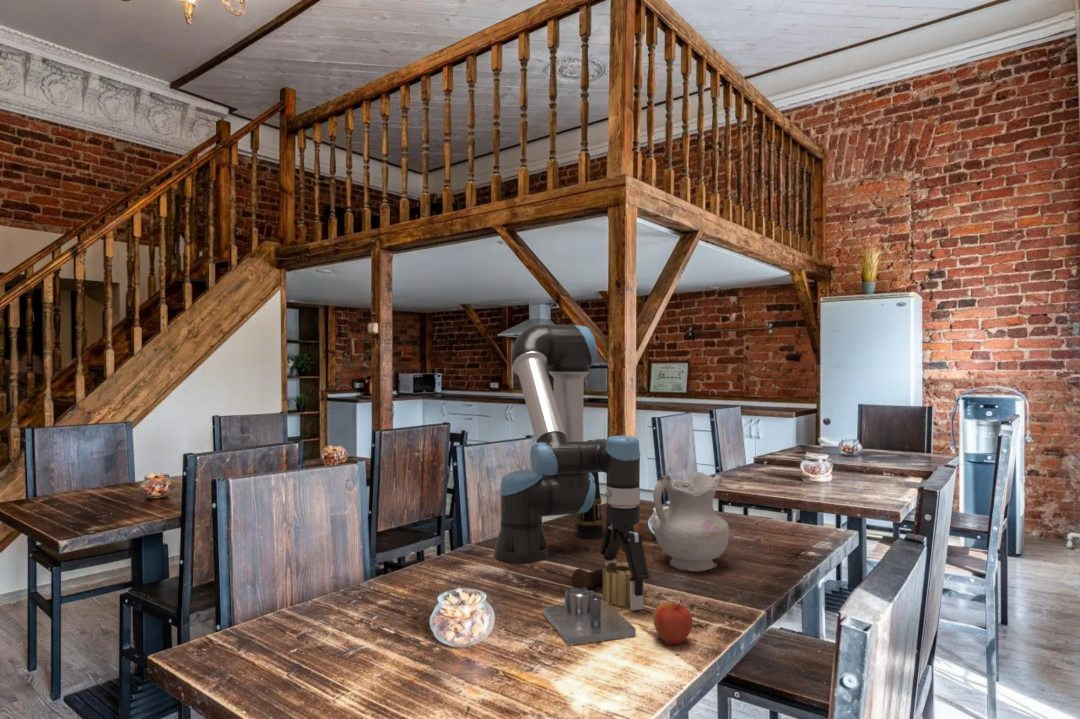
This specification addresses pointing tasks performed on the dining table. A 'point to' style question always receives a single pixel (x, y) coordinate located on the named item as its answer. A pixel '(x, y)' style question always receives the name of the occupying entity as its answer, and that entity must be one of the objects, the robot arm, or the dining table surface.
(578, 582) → the bolt
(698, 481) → the ceramic pitcher
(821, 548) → the dining table surface
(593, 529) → the lantern
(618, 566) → the gear
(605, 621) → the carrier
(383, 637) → the dining table surface
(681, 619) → the apple
